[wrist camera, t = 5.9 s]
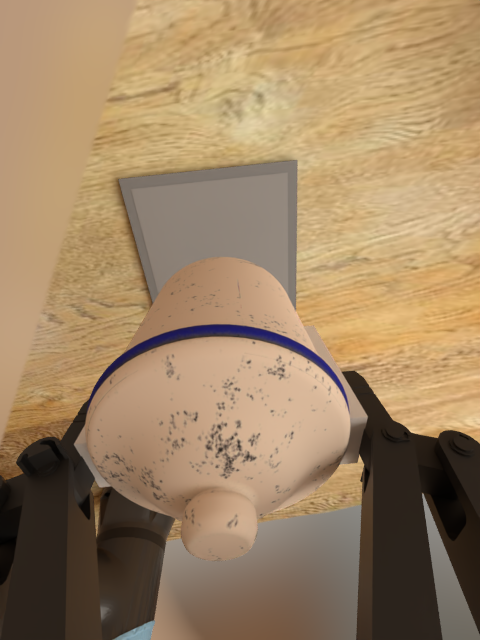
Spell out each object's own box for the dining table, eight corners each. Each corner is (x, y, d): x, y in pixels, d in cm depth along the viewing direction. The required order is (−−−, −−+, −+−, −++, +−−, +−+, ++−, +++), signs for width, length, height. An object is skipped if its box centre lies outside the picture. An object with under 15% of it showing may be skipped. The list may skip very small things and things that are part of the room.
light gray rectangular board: (161, 330, 35) (160, 332, 35) (120, 179, 27) (117, 179, 26) (294, 315, 35) (295, 318, 35) (295, 160, 27) (297, 159, 26)
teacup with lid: (120, 316, 16) (-61, 552, 6) (230, 214, 14) (239, 323, 3) (244, 415, 21) (260, 642, 11) (343, 353, 18) (489, 573, 8)
